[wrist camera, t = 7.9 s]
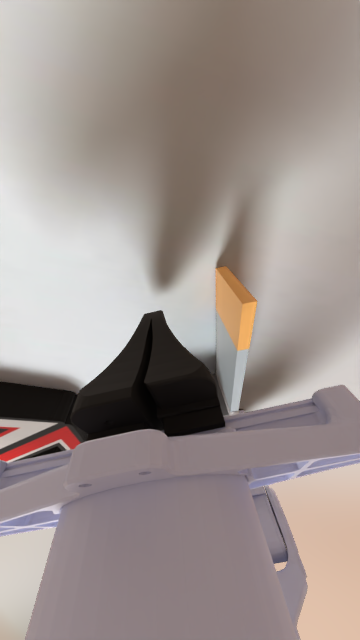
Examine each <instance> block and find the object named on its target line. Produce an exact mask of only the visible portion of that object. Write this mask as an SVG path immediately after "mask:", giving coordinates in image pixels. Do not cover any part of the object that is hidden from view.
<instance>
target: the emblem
mask: <svg viewBox="0 0 360 640" xmlns="http://www.w3.org/2000/svg"><path fill="white" fill-rule="evenodd" d="M77 396H78V395H75V393H74V392H72V391H66V390H58V389H51V388H44V387H36V386H29V385H22V384H15V383H7V382H0V460H3V461H6V462H7V463H10V462H15V461H20V460H24V459H29V458H34V457H38V456H43V455H48V454H53V453H57V452H62V451H67V450H71V449H75V448H76V446H77V445H79V444H81V443H83V442H86V440H87V436H88V434H87V433H86V432H84V431H83V430H81V429H80V428H78V427H77V426H75V425H74V424H73V423H72V421H71V419H70V416H71V413H72V410H73V407H74V404H75V402H76V399H77Z"/></svg>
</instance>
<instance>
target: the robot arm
mask: <svg viewBox="0 0 360 640" xmlns="http://www.w3.org/2000/svg"><path fill="white" fill-rule="evenodd" d="M70 419H71V421H72V423H73V424H74V425H75V426H77V427H78V428H80V429H81V430H83V431H84V432H86V433H87V434H88V436H87V440H86V442H83V443H81V444H79V445H77V446H76V448H75V449H71V450H67V451H62V452H57V453H53V454H48V455H43V456H38V457H34V458H29V459H24V460H20V461H15V462H10V463H7V462H6V461H3V460H0V537H1V536H6V535H12V534H18V533H24V532H29V531H36V530H42V529H48V528H54V527H56V531H55V534H54V538H53V541H52V545H51V548H50V552H49V556H48V559H47V563H46V566H45V570H44V573H43V577H42V581H41V584H40V587H39V591H38V594H37V598H36V602H35V605H34V609H33V612H32V616H31V620H30V623H29V627H28V630H27V634H26V637H25V640H300V637H299V634H298V631H297V627H296V626H297V622H298V617H299V615H300V612H301V609H302V605H303V602H304V599H305V596H306V593H307V582H306V573H305V569H304V567H303V564H302V562H301V559H300V557H299V554H298V549H297V547H296V544H295V541H294V538H293V535H292V533H291V530H290V528H289V525H288V523H287V520H286V517H285V515H284V513H283V510H282V508H281V505H280V503H279V500H278V498H277V496H276V494H275V492H274V490H273V489H272V488H270V487H269V486H268V485H270V484H274V483H278V482H282V481H286V480H290V479H294V478H298V477H302V476H306V475H310V474H314V473H318V472H322V471H326V470H330V469H335V468H339V467H344V466H348V465H353V464H358V463H360V401H359V400H358V399H357V398H356V397H355V396H354V395H353V394H352V393H351V392H350V391H349V390H348V389H347V387H346V386H345V385H338V386H333V387H328V388H324V389H320V390H318V391H316V392H315V393H314V394H313V396H312V399H307V400H303V401H298V402H293V403H288V404H284V405H279V406H274V407H270V408H265V409H260V410H255V411H251V412H246V413H245V412H244V411H243V410H240V411H239V414H236V415H232V416H227V417H223V414H222V410H221V407H220V402H219V399H218V393H217V385H216V382H215V380H214V378H213V376H212V375H211V373H210V372H209V370H208V369H207V367H206V366H205V365H204V363H202V362H201V361H200V360H198V359H197V358H196V357H194V356H193V355H192V354H191V353H190V352H189V351H188V350H187V349H186V348H185V347H183V346H182V344H181V343H180V342H179V341H178V340H177V339H176V337H175V336H174V335H173V333H172V332H171V330H170V329H169V327H168V325H167V323H166V320H165V317H164V314H163V311H161V310H160V311H156V312H151V313H147V314H144V316H143V318H142V320H141V322H140V324H139V325H138V327H137V329H136V331H135V333H134V334H133V336H132V337H131V339H130V341H129V342H128V344H127V345H126V346H125V348H124V349H123V350H122V352H121V353H120V354H119V355H118V356H117V357H116V358H115V360H114V361H113V362H112V363H111V364H110V365H109V366H108V367H107V368H106V369H105V370H104V371H103V372H102V373H100V374H99V375H98V376H97V377H96V378H95V379H94V380H92V381H91V382H90V383H89V384H87V385H86V386H85V387H84V388H82V389H81V390H80V391H79V394H78V396H77V399H76V402H75V404H74V407H73V410H72V413H71V416H70ZM263 486H264V487H265V490H266V493H267V495H266V493H265V490H264V487H263ZM267 497H268V498H267ZM270 505H271V506H270ZM281 535H282V536H281ZM282 538H283V539H282ZM283 541H284V542H283ZM284 543H285V544H284ZM285 546H286V547H285ZM286 549H287V550H286ZM286 561H287V564H286V567H285V568H284V569H283V570H281V571H277V572H276V570H275V567H274V564H275V563H280V562H286Z"/></svg>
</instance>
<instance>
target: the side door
mask: <svg viewBox="0 0 360 640" xmlns="http://www.w3.org/2000/svg"><path fill="white" fill-rule="evenodd" d="M256 306H257V300H256V299H255V298H254V297H253V296H252V295H251V294H250V292H249V291H248V290H247V289H246V288H245V287H244V286H243V285H242V284H241V282H240V281H239V280H238V279H237V278H236V277H235V276H234V275H233V273H232V272H231V271H230V270H229V269H228V268H227V267H226V266H225V267H219V268H216V372H215V374H216V377H217V380H218V383H219V386H220V389H221V392H222V395H223V398H224V401H225V404H226V407H227V410H228V413H229V415H230V416H232V415H236V414H239V404H240V398H241V393H242V387H243V381H244V375H245V369H246V364H247V358H248V352H249V346H250V340H251V335H252V329H253V323H254V317H255V312H256Z"/></svg>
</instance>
